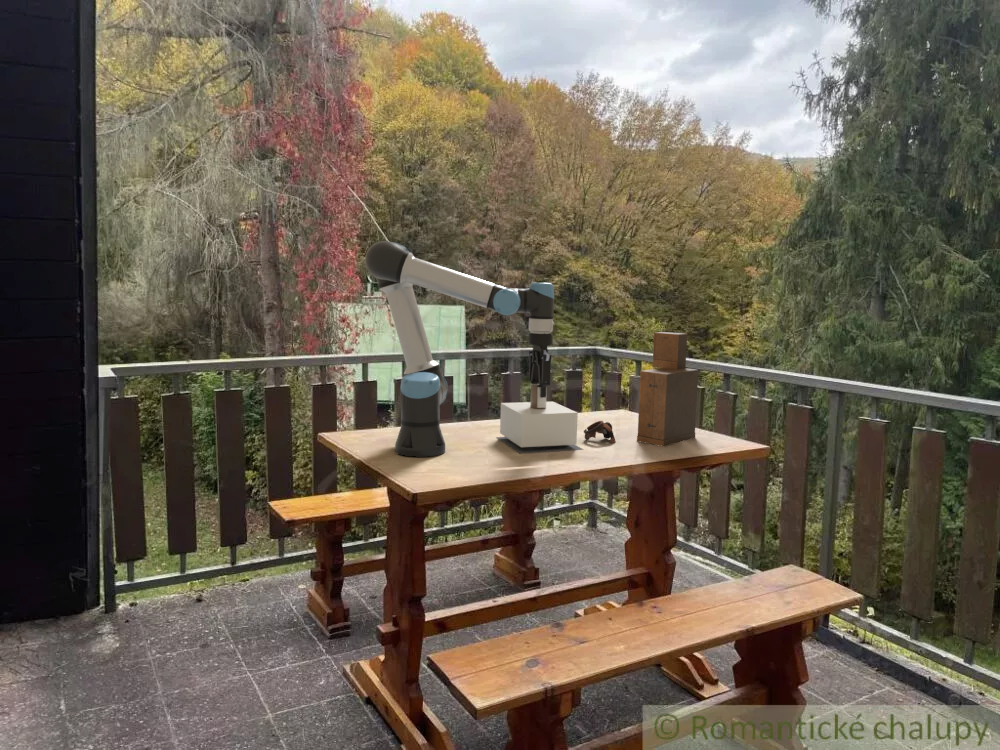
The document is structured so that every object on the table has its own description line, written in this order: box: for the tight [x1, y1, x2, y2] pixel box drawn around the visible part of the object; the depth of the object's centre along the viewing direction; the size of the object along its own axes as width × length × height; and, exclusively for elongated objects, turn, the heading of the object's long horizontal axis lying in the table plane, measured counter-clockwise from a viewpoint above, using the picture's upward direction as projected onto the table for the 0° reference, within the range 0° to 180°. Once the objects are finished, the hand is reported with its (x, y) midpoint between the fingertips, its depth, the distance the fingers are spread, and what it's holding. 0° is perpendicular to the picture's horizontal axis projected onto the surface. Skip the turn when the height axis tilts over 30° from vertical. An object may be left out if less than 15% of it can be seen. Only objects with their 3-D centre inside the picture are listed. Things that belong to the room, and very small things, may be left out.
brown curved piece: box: [583, 420, 617, 445], centre depth 239 cm, size 12×10×8 cm
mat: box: [495, 436, 584, 455], centre depth 233 cm, size 21×23×1 cm
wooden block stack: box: [636, 331, 699, 447], centre depth 243 cm, size 19×14×35 cm
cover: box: [499, 384, 579, 447], centre depth 232 cm, size 18×20×17 cm
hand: (538, 405), depth 232 cm, fingers closed on cover, 5 cm apart
